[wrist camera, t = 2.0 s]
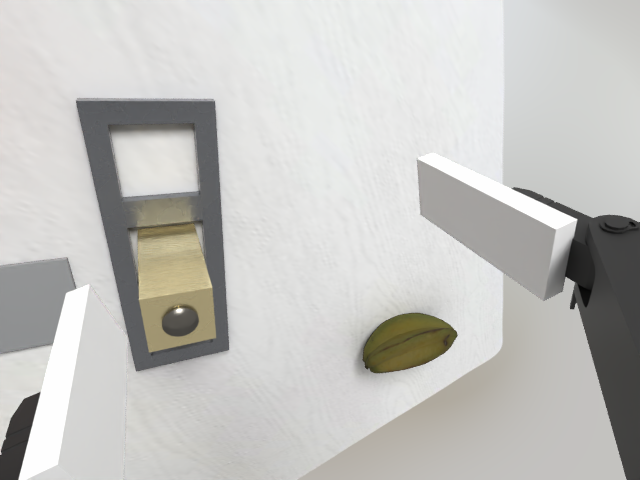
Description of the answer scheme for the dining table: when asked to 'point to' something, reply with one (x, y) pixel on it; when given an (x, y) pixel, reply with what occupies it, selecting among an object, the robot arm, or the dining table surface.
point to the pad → (32, 302)
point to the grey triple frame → (157, 210)
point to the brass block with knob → (174, 287)
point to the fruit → (407, 342)
